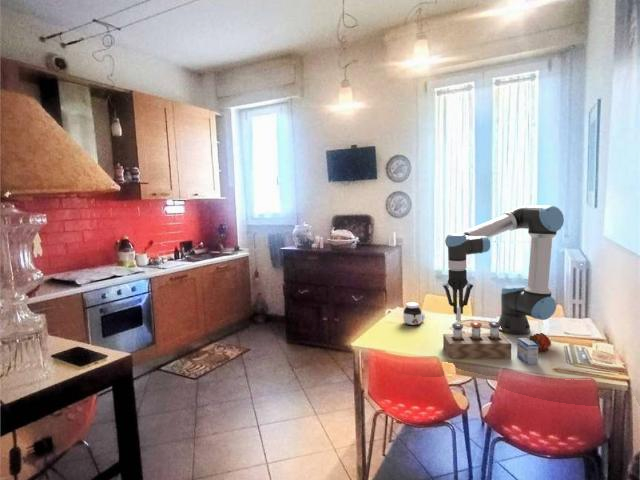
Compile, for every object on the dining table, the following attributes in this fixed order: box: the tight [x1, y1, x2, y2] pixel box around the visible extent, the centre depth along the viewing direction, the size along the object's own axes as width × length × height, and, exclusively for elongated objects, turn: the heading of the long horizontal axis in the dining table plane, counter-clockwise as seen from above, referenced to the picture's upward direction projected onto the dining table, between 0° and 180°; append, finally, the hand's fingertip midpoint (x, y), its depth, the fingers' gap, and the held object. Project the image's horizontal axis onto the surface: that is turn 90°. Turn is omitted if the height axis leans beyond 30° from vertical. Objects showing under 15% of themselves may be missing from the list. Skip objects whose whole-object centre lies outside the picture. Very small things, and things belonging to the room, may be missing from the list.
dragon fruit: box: [528, 332, 552, 353], centre depth 173 cm, size 8×8×12 cm
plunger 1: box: [451, 322, 464, 341], centre depth 172 cm, size 5×5×9 cm
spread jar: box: [402, 301, 426, 327], centre depth 215 cm, size 12×11×12 cm
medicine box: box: [516, 337, 539, 366], centre depth 163 cm, size 8×4×9 cm, turn 5°
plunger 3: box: [488, 321, 500, 341], centre depth 171 cm, size 5×5×9 cm
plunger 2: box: [470, 321, 482, 341], centre depth 172 cm, size 5×5×9 cm
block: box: [442, 332, 512, 360], centre depth 172 cm, size 26×12×7 cm, turn 85°
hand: (458, 320), depth 172 cm, fingers closed
